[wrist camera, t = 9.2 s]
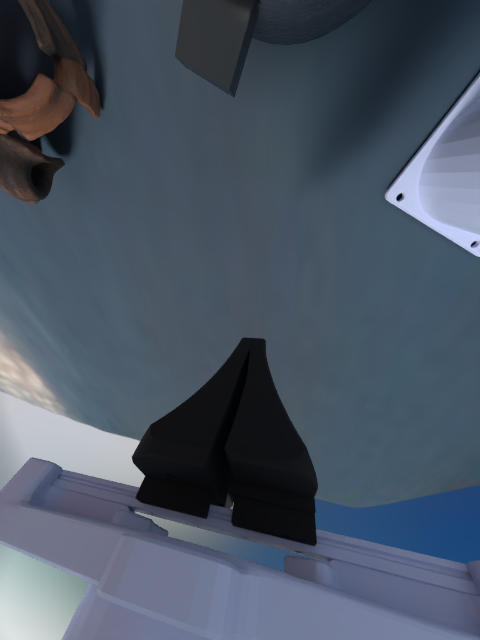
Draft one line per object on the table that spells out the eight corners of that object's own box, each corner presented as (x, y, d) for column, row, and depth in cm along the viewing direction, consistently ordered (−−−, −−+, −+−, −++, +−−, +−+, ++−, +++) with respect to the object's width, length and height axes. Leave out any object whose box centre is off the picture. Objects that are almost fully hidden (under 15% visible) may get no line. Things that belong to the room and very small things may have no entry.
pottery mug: (-51, 4, 14) (-293, -245, 7) (107, 57, 17) (59, -75, 10) (6, 202, 18) (-101, 182, 11) (123, 216, 21) (99, 208, 14)
